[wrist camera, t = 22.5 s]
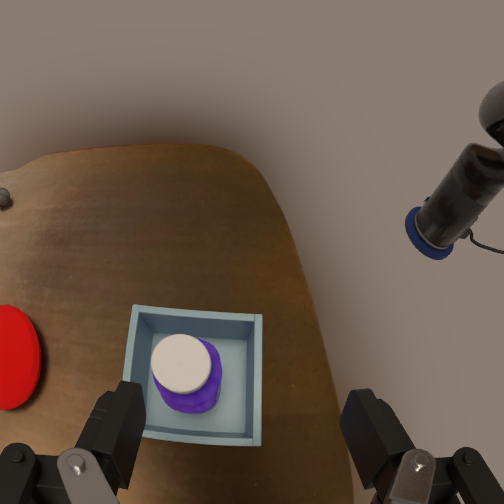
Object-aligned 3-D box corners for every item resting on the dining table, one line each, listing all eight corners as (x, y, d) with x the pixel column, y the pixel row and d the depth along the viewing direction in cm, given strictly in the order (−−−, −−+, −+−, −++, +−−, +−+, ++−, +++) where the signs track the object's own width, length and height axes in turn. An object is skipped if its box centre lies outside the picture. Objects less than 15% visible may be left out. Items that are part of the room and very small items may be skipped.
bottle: (219, 415, 31) (220, 418, 17) (171, 410, 31) (133, 406, 16) (222, 358, 35) (227, 313, 20) (177, 353, 35) (147, 305, 20)
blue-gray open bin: (252, 336, 38) (262, 314, 30) (250, 438, 31) (261, 446, 23) (149, 328, 37) (132, 304, 29) (140, 428, 30) (118, 432, 22)
